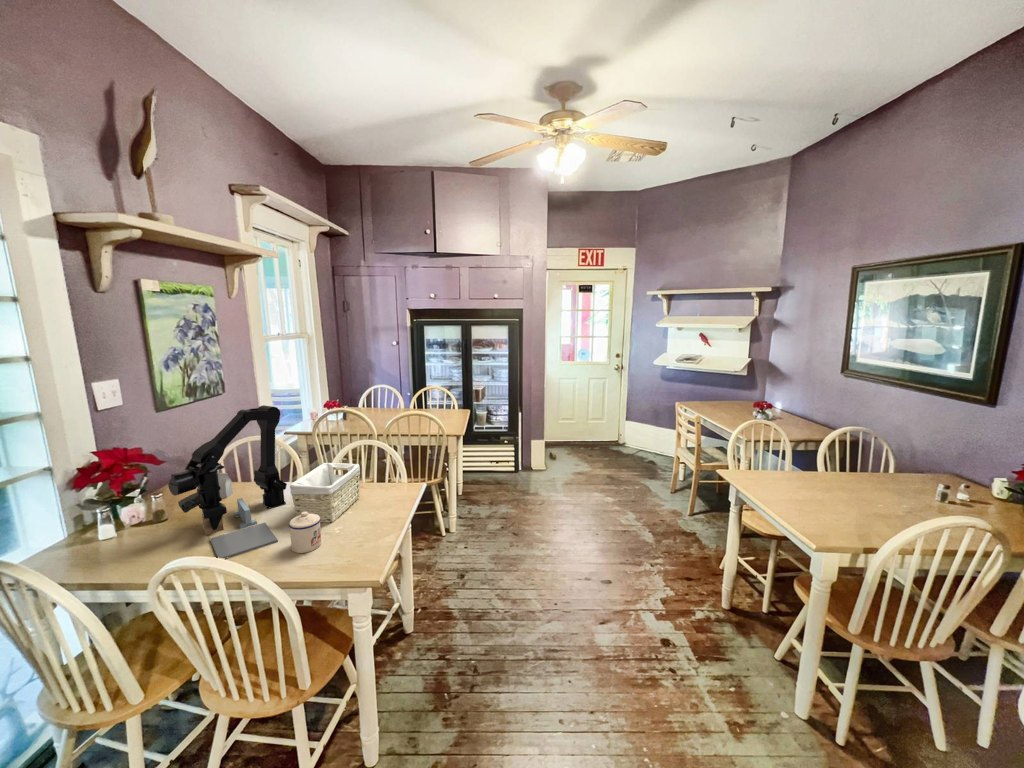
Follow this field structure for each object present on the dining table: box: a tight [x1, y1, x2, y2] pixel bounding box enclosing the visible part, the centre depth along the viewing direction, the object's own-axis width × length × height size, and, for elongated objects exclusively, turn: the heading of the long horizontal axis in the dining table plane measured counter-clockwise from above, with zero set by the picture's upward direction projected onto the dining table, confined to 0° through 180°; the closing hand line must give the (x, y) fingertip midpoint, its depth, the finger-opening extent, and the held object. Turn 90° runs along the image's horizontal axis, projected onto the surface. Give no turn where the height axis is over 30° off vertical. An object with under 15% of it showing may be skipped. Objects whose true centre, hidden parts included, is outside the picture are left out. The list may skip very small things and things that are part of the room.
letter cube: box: [202, 515, 225, 536], centre depth 143 cm, size 5×5×5 cm
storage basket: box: [289, 462, 361, 523], centre depth 158 cm, size 24×16×15 cm
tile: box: [210, 522, 279, 560], centre depth 136 cm, size 16×16×1 cm
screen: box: [232, 497, 258, 529], centre depth 150 cm, size 5×13×6 cm, turn 44°
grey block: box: [218, 472, 234, 499], centre depth 169 cm, size 4×7×10 cm, turn 90°
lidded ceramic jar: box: [288, 511, 322, 554], centre depth 134 cm, size 12×9×12 cm
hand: (213, 526), depth 143 cm, fingers closed on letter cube, 5 cm apart
